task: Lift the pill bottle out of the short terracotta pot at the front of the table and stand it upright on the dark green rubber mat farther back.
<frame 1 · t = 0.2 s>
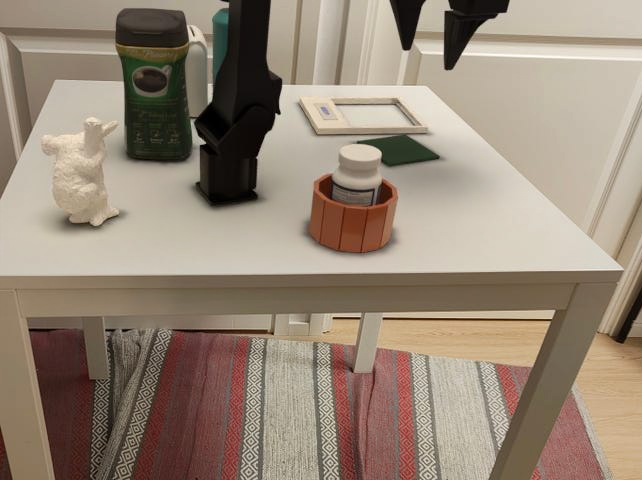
hand: (426, 59, 85), 15 cm above the table, tool pointing down, fingers open, 9 cm apart
beverage bottle: (232, 127, 104), on the table
coffee jar: (159, 152, 95), on the table
mat: (397, 150, 99), on the table
white animal figurine: (90, 220, 78), on the table
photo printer: (192, 108, 110), on the table
photo frame: (360, 118, 109), on the table
pot: (349, 231, 79), on the table
pill bottle: (348, 233, 79), resting in pot
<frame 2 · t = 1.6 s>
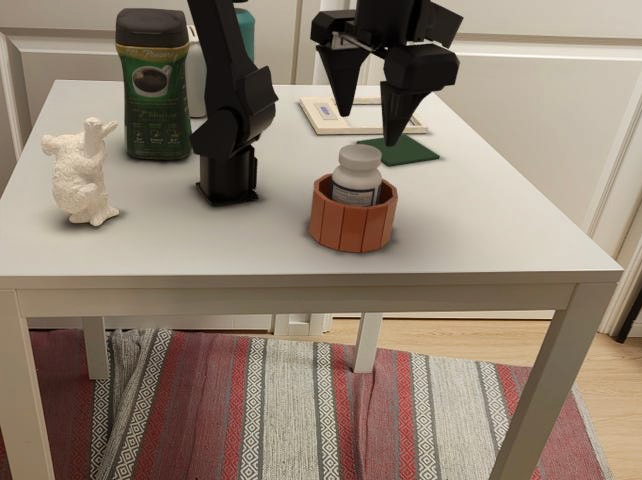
hand: (366, 130, 72), 12 cm above the table, tool pointing down, fingers open, 9 cm apart
nothing on the table moved.
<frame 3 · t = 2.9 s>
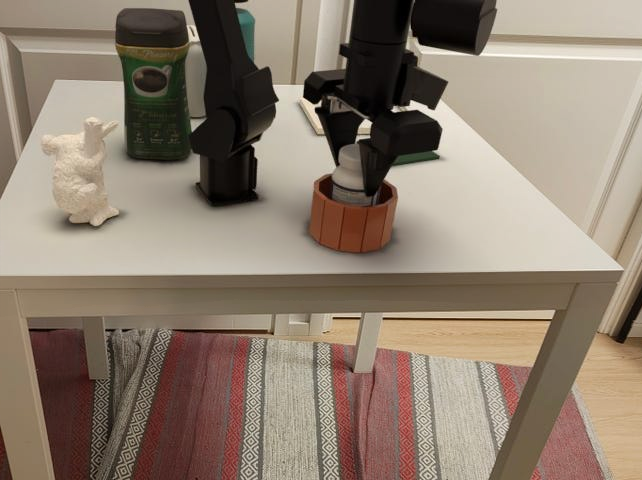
hand: (356, 185, 75), 6 cm above the table, tool pointing down, fingers closed on pill bottle, 6 cm apart
pill bottle: (348, 233, 79), resting in pot, touching gripper
everything else where it was.
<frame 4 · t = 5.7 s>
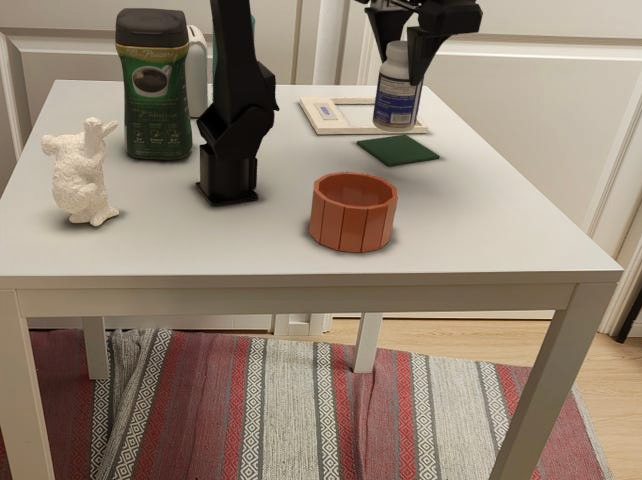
hand: (401, 78, 83), 13 cm above the table, tool pointing down, fingers closed on pill bottle, 6 cm apart
pill bottle: (392, 127, 87), point 7 cm above the table, touching gripper
everything else where it was.
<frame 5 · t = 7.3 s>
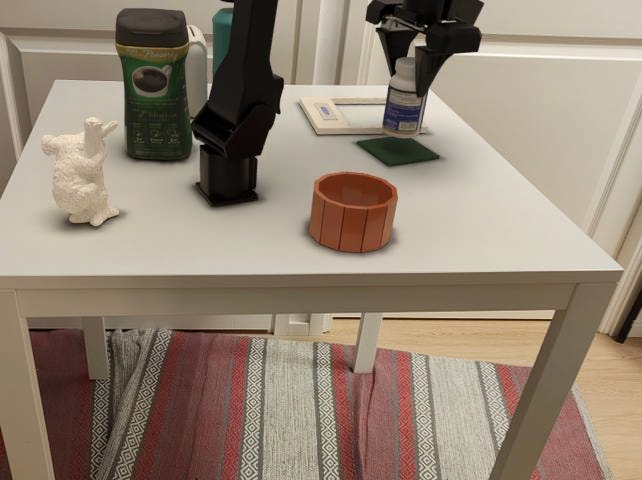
hand: (407, 90, 93), 9 cm above the table, tool pointing down, fingers closed on pill bottle, 6 cm apart
pill bottle: (400, 133, 97), point 3 cm above the table, touching gripper
everything else where it was.
when the fingers open (6 cm above the table, at t = 8.5 s): pill bottle stays where it is, resting on mat.
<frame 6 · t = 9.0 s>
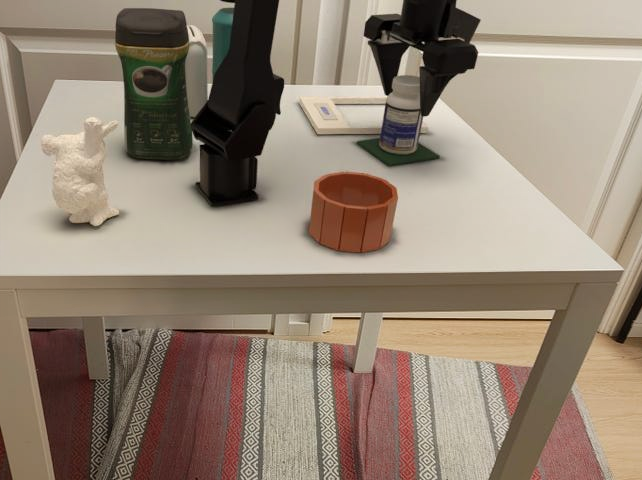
hand: (405, 105, 95), 7 cm above the table, tool pointing down, fingers open, 9 cm apart
pill bottle: (397, 149, 99), resting on mat
everything else where it was.
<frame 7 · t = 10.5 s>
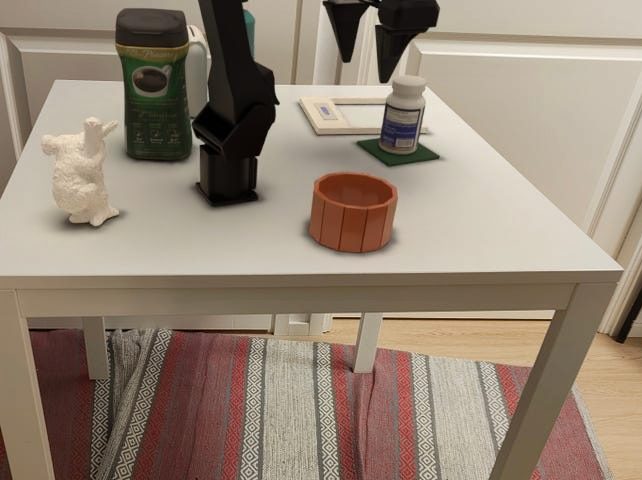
hand: (364, 72, 85), 13 cm above the table, tool pointing down, fingers open, 9 cm apart
nothing on the table moved.
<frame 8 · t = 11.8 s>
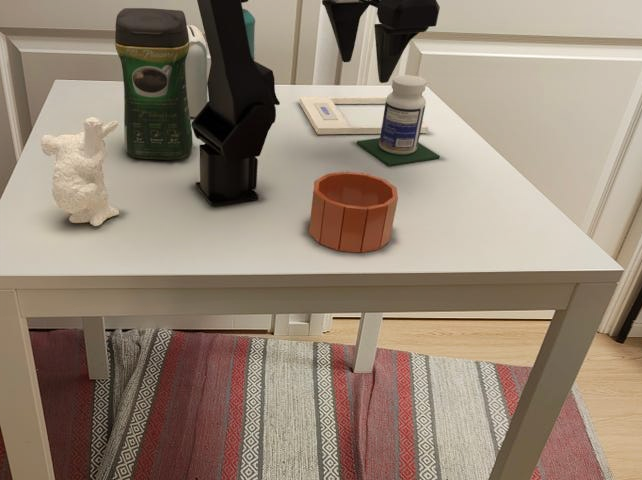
hand: (364, 71, 85), 13 cm above the table, tool pointing down, fingers open, 9 cm apart
nothing on the table moved.
at the end: pill bottle inside the target area on the mat (0.1 cm from its centre), point 0.2 cm above the mat's base; pill bottle tilted 0°; the gripper is holding nothing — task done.
